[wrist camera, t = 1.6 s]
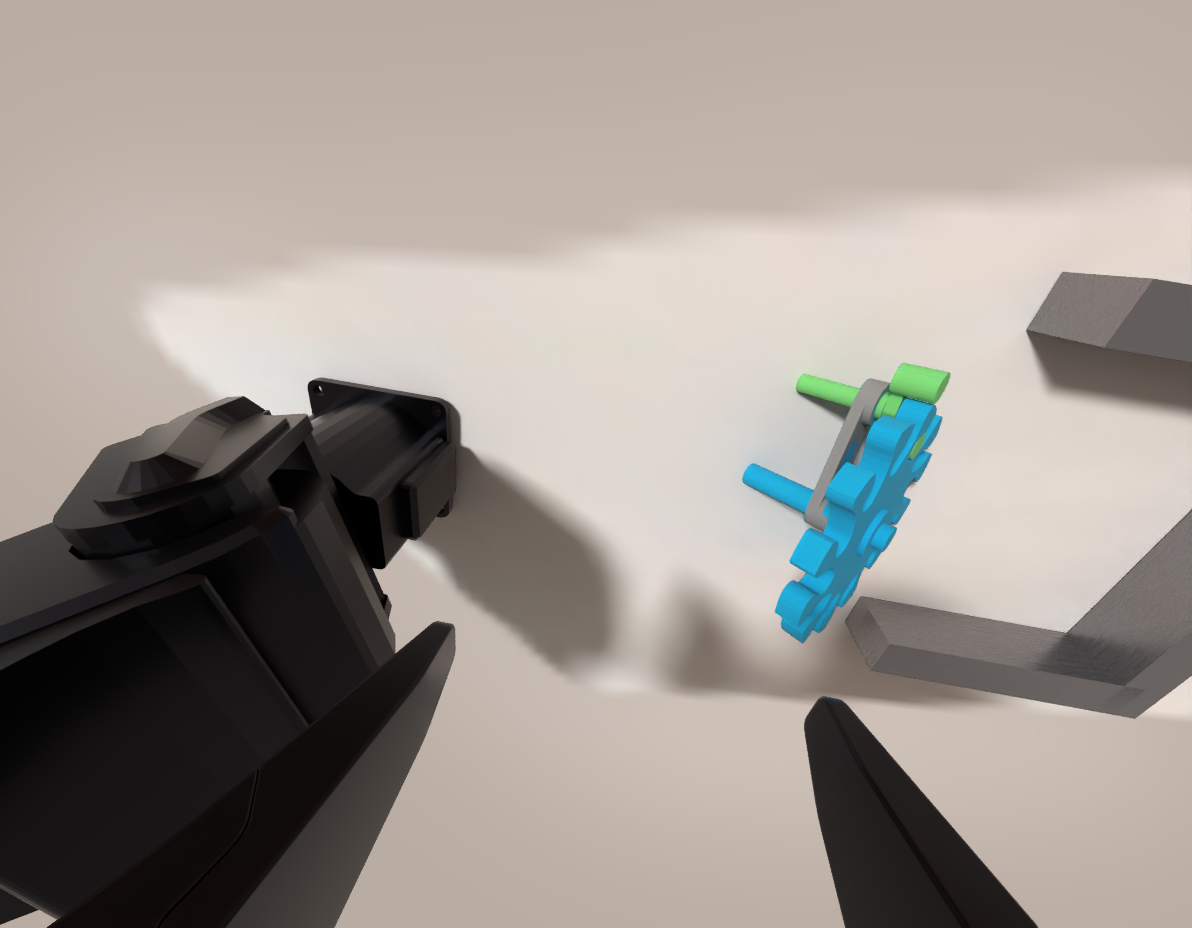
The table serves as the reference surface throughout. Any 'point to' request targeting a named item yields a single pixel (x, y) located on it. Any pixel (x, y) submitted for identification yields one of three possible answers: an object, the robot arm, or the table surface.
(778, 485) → the gear
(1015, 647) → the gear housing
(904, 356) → the table surface
